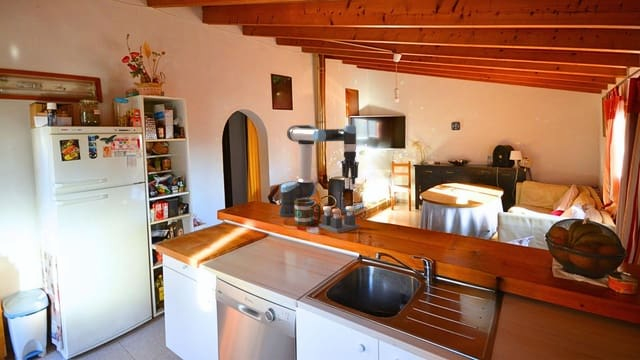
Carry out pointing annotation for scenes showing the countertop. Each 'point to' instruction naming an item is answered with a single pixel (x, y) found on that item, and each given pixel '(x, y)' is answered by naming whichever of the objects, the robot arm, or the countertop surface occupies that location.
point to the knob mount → (338, 223)
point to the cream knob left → (349, 210)
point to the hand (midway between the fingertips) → (349, 188)
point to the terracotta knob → (336, 212)
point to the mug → (305, 212)
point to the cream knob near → (326, 210)
